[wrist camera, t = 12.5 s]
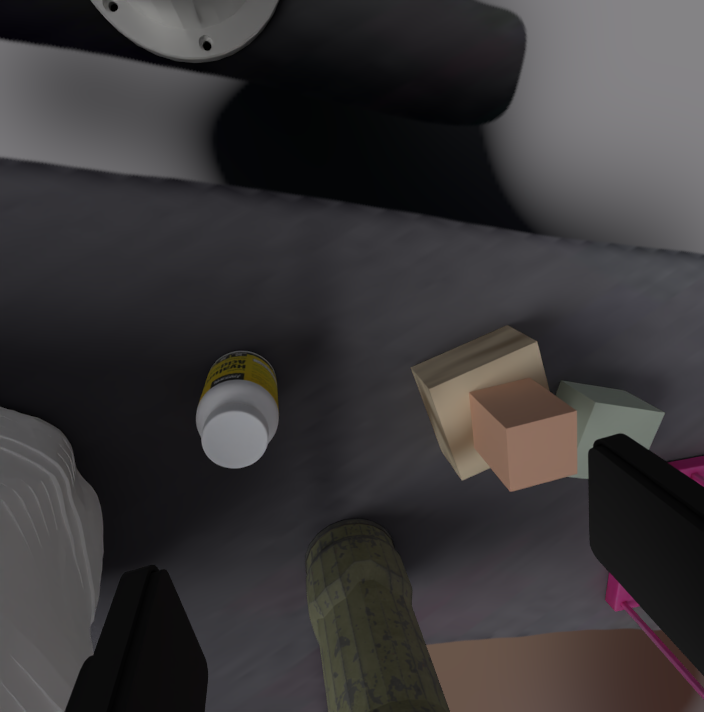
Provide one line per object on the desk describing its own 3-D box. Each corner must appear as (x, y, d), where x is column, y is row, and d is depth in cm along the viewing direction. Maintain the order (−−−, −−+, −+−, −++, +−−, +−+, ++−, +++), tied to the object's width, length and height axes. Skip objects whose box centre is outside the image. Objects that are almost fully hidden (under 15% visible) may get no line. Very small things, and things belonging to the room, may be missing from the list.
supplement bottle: (246, 334, 37) (242, 382, 28) (290, 385, 39) (299, 444, 30) (191, 376, 37) (169, 437, 28) (237, 424, 39) (230, 495, 30)
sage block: (559, 379, 44) (595, 402, 39) (623, 389, 45) (665, 412, 41) (535, 447, 46) (566, 476, 41) (596, 454, 47) (633, 483, 43)
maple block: (409, 366, 41) (429, 389, 36) (505, 324, 41) (537, 341, 36) (440, 449, 44) (462, 480, 39) (529, 410, 44) (560, 436, 40)
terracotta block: (468, 392, 37) (506, 428, 31) (529, 377, 37) (576, 410, 32) (474, 448, 39) (510, 491, 33) (532, 433, 39) (577, 473, 33)
